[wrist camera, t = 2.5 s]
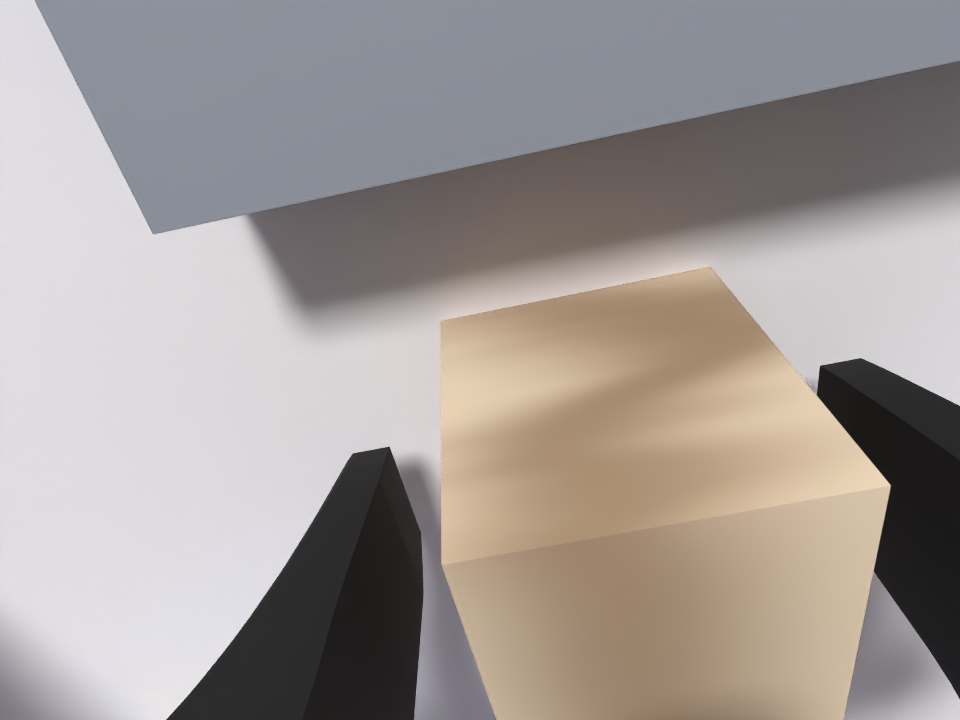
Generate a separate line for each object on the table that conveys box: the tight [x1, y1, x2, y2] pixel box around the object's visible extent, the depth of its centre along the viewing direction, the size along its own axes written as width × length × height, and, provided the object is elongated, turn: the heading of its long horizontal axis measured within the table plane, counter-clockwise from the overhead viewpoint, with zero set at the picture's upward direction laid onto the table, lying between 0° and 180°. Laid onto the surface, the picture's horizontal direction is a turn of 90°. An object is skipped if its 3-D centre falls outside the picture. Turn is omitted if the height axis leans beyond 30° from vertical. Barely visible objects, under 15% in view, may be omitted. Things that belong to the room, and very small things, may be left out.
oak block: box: [441, 267, 891, 720], centre depth 10 cm, size 4×4×5 cm
